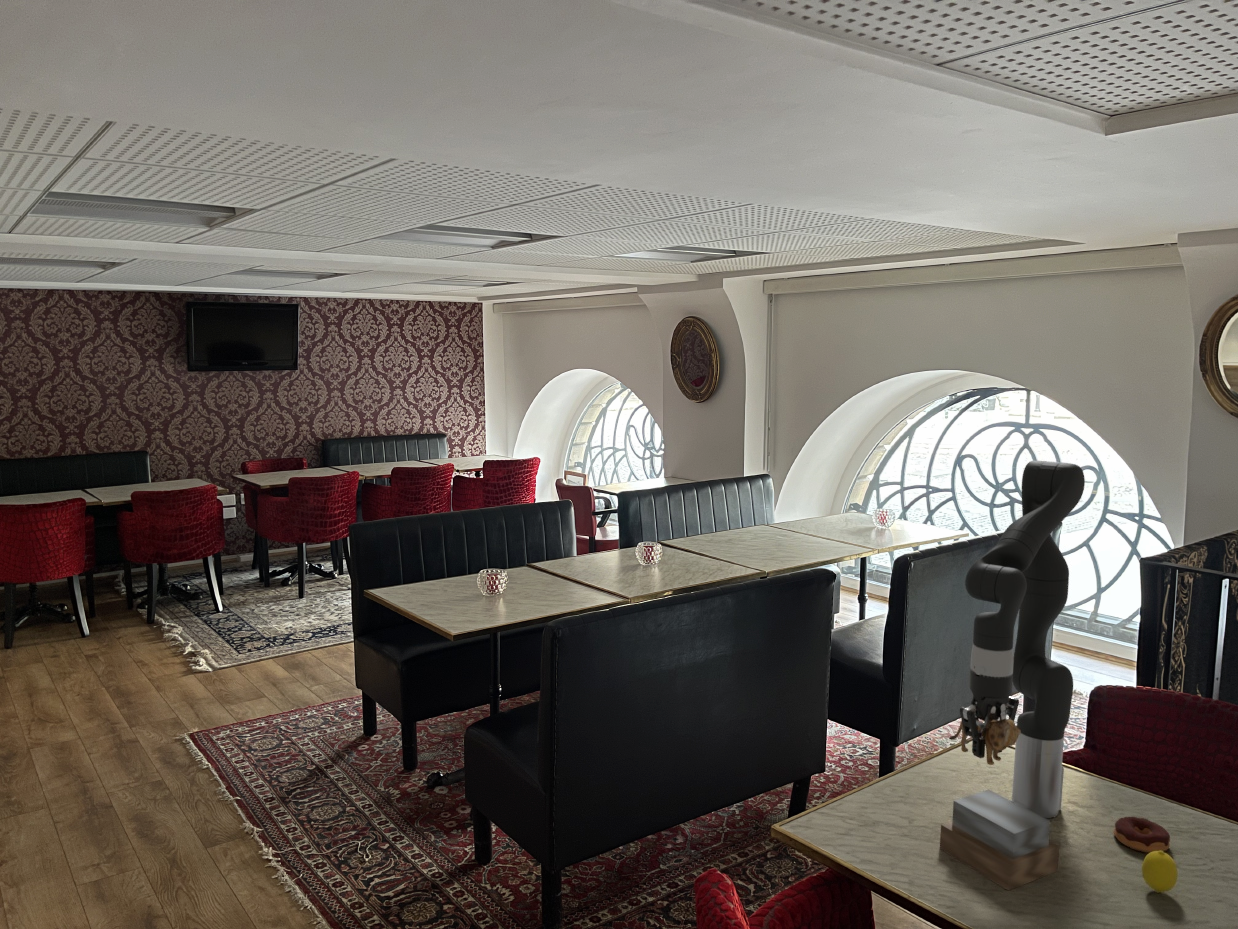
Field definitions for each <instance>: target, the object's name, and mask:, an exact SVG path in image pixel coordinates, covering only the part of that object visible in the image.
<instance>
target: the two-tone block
mask: <svg viewBox="0 0 1238 929" xmlns="http://www.w3.org/2000/svg"><path fill="white" fill-rule="evenodd" d="M952 805H953V806H952V820H950V821H948V822H945V823H941V824H940V833H939V834H940V838H939V849H940V850H942V851H943V852H945V853H946V854H948V855H950V856H951V857H953V858H954V859H956V860H957V861H959V862H961V863H963V864H964V865H965V866H968V867H969V868H971V869H973V870H974V871H976V872H977V873H978V874H981V875H982V876H984V877H985V878H987V879H989V880H991V882H994V883H995V884H997V885H998V886H1000V887H1002V888H1003V889H1004V890H1006V891H1010V890H1013V889H1015V888H1018V887H1021V886H1023V885H1025V884H1028V883H1031V882H1033V881H1034V882H1035V881H1036V880H1038V879H1041V878H1043V877H1046V876H1049V875H1052V874H1054V873H1056V872H1059V867H1060V865H1059V863H1060V854H1061V853H1060V852H1061V845H1059V844H1057V843H1056V842H1053V840H1050V830H1051V820H1049V819H1048V818H1043V817H1042V816H1040V815H1038V814H1036V813H1034V812H1032V811H1030V810H1028V809H1026V808H1024V807H1022V806H1020V805H1018V804H1016V803H1014V802H1012V800H1011V799H1008V798H1006V797H1004V796H1002V795H1001V794H999V793H996V792H995V791H992V790H990V789H985V790H983V791H979V792H975V793H972V794H969V795H967V796H964V797H960V798H957V799H954V800H953V804H952Z"/></svg>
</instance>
